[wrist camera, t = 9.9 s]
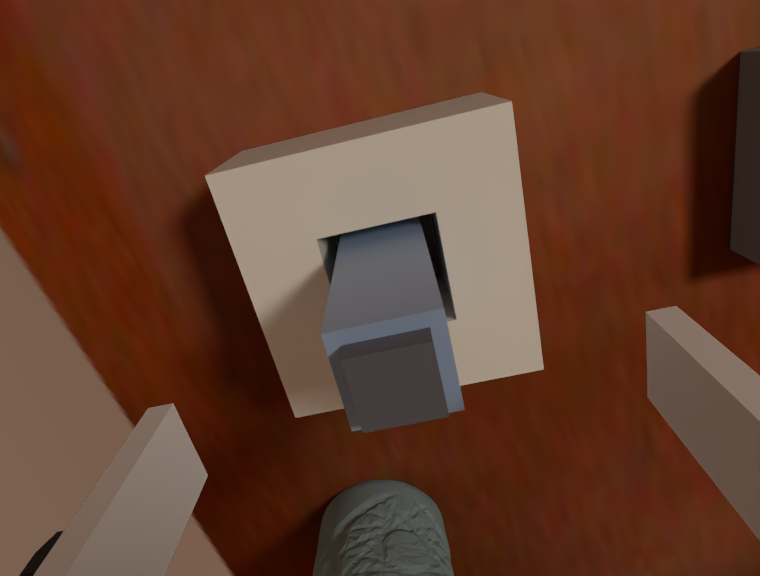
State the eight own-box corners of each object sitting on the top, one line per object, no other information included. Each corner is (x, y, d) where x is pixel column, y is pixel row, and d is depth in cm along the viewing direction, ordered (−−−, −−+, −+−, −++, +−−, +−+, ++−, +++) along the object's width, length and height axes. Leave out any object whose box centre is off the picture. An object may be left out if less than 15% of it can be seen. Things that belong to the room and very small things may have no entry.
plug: (414, 200, 25) (447, 321, 13) (428, 266, 27) (469, 426, 15) (344, 216, 25) (317, 348, 14) (361, 280, 27) (350, 449, 15)
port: (481, 92, 24) (511, 101, 19) (512, 311, 29) (543, 369, 23) (242, 150, 25) (204, 175, 20) (310, 352, 30) (295, 417, 24)
